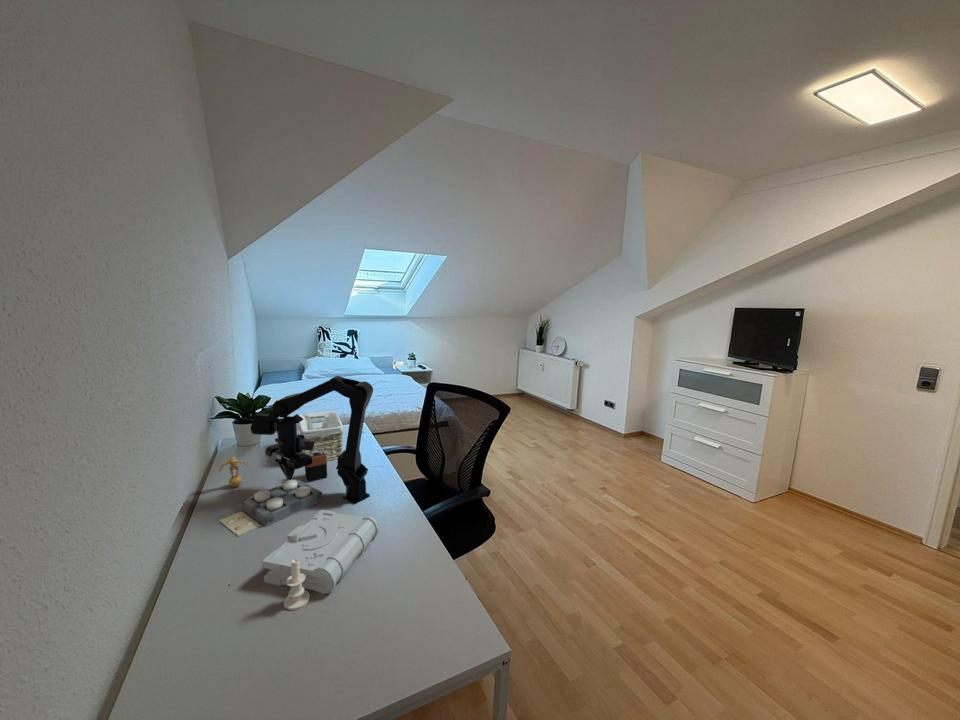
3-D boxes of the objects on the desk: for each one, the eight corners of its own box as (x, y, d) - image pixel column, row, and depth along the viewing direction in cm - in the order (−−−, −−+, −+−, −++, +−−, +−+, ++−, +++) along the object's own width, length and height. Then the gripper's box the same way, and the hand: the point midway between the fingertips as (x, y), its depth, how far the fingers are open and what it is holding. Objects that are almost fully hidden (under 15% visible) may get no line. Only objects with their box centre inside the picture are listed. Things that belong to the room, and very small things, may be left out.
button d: (273, 498, 121) (272, 492, 121) (258, 504, 118) (258, 498, 117) (266, 494, 124) (265, 488, 123) (251, 500, 120) (251, 494, 120)
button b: (300, 487, 129) (299, 482, 128) (287, 492, 125) (287, 487, 125) (292, 483, 131) (292, 478, 131) (280, 488, 128) (279, 483, 127)
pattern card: (260, 526, 111) (260, 524, 111) (238, 536, 106) (238, 535, 106) (241, 512, 118) (241, 511, 118) (219, 521, 113) (219, 520, 113)
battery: (327, 477, 142) (326, 452, 140) (308, 482, 138) (306, 456, 136) (324, 473, 145) (323, 448, 144) (305, 477, 141) (303, 452, 139)
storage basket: (345, 459, 158) (344, 425, 155) (301, 467, 150) (300, 431, 148) (336, 440, 178) (335, 409, 176) (298, 445, 171) (296, 413, 168)
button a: (313, 494, 125) (312, 488, 124) (300, 500, 121) (299, 494, 121) (305, 490, 127) (305, 484, 127) (292, 495, 123) (292, 490, 123)
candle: (303, 588, 88) (300, 547, 87) (314, 600, 85) (312, 558, 84) (279, 601, 84) (276, 559, 83) (290, 614, 81) (287, 570, 80)
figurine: (250, 481, 137) (247, 449, 135) (249, 489, 132) (246, 456, 130) (222, 486, 133) (219, 453, 131) (220, 494, 128) (217, 460, 126)
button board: (322, 500, 126) (322, 492, 125) (266, 526, 111) (266, 516, 111) (297, 486, 134) (296, 479, 134) (242, 509, 120) (241, 500, 119)
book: (387, 527, 113) (387, 503, 112) (332, 599, 86) (330, 569, 85) (329, 519, 117) (328, 496, 116) (259, 585, 90) (256, 555, 89)
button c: (286, 506, 117) (285, 500, 117) (271, 512, 114) (271, 506, 113) (278, 501, 120) (278, 496, 119) (264, 508, 116) (263, 501, 116)
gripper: (326, 434, 126) (328, 478, 129) (295, 422, 137) (297, 463, 139) (294, 444, 117) (296, 491, 120) (263, 431, 128) (266, 475, 130)
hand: (289, 479), depth 128 cm, fingers closed
